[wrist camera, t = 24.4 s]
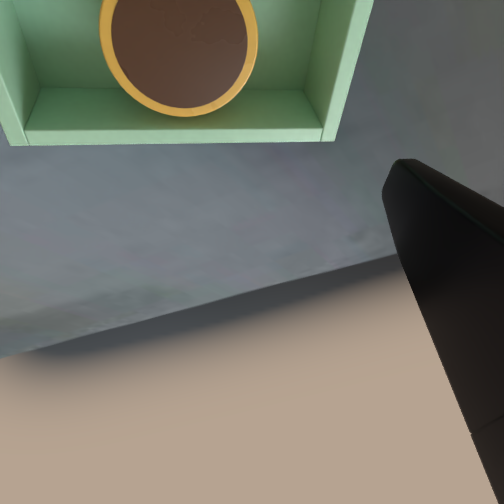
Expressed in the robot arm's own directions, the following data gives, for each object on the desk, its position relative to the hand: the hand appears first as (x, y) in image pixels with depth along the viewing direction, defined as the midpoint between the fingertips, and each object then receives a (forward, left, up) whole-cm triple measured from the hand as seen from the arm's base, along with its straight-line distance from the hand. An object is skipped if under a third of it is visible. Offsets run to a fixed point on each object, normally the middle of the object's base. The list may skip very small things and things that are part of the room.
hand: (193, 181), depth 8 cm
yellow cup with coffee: (0, 0, -11) cm, 11 cm away
